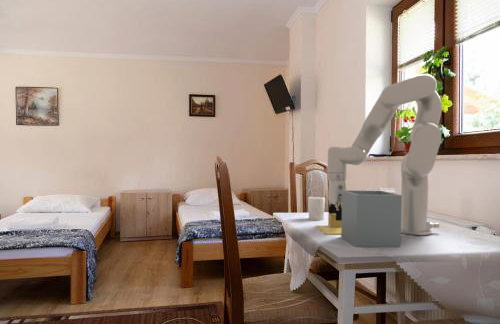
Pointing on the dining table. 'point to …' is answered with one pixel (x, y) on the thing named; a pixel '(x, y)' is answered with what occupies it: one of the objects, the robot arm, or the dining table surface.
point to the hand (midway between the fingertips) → (335, 218)
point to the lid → (331, 226)
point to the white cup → (316, 208)
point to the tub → (371, 218)
